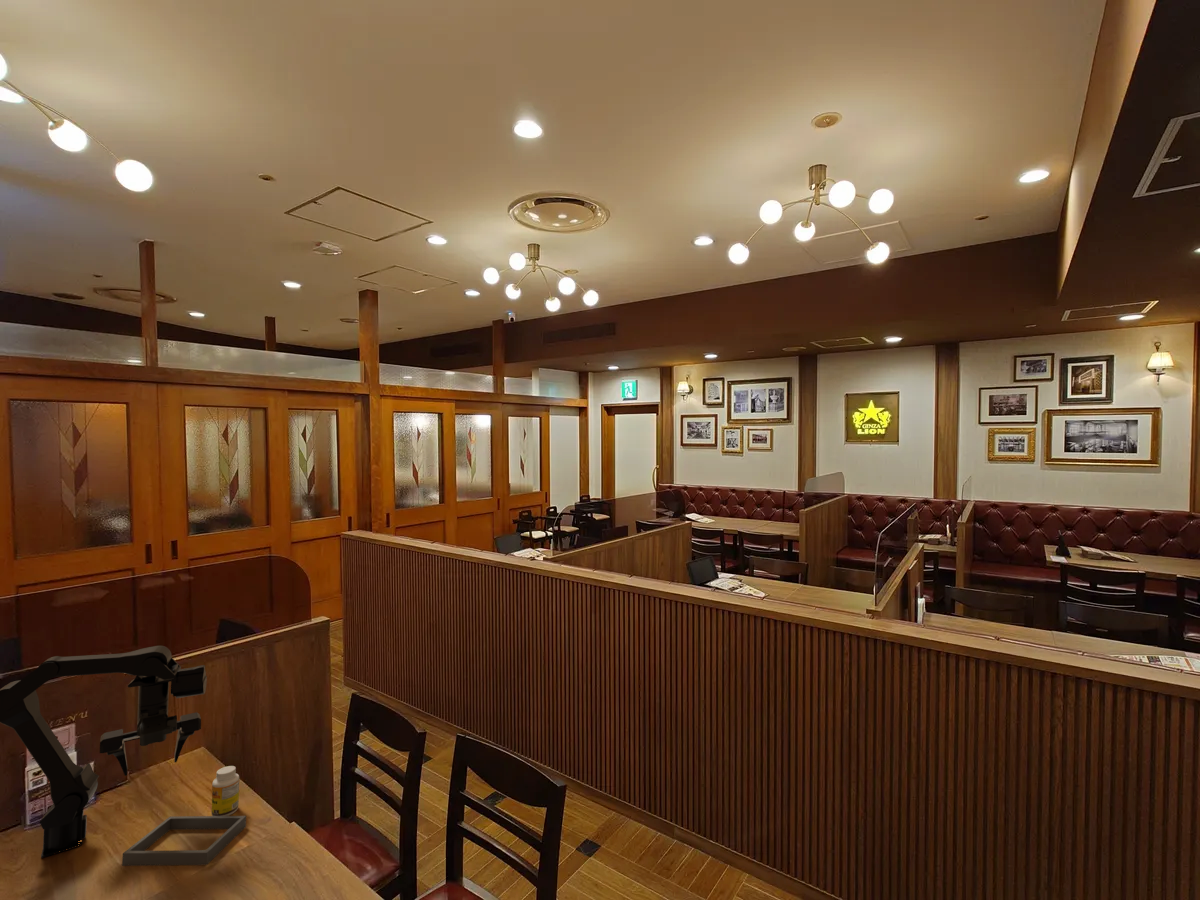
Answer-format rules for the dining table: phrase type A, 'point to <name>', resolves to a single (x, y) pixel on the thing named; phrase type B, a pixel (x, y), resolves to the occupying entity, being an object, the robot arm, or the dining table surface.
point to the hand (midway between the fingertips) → (151, 768)
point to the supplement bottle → (225, 792)
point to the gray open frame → (184, 857)
